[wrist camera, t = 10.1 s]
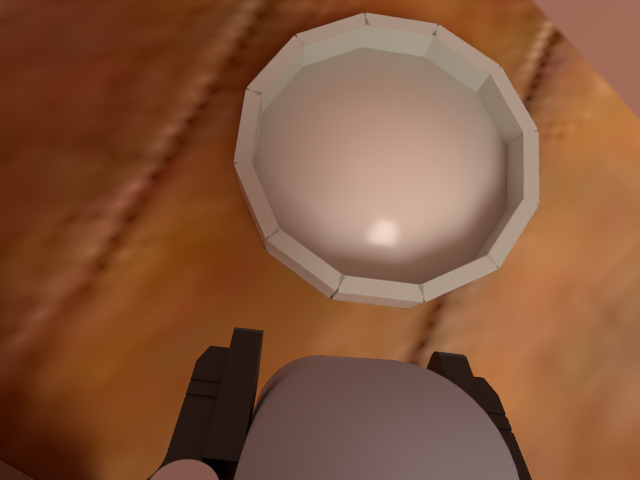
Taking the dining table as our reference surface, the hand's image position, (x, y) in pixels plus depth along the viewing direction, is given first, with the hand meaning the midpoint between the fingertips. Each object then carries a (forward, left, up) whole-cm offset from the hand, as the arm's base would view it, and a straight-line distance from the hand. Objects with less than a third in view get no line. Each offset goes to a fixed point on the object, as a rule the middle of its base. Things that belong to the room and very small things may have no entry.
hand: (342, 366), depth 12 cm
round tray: (+3, +12, -14) cm, 19 cm away
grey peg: (0, -2, -4) cm, 5 cm away
